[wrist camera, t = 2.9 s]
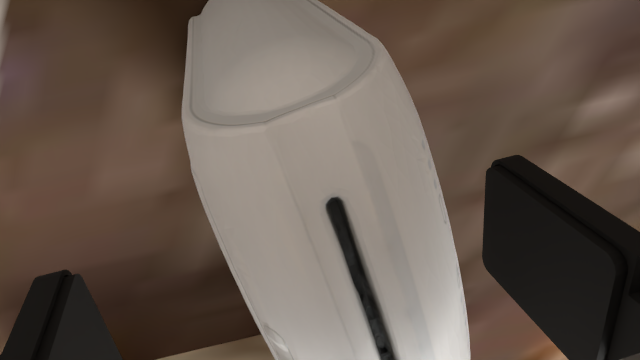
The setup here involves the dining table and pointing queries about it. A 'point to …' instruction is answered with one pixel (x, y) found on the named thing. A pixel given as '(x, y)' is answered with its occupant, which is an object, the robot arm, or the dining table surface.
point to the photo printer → (320, 185)
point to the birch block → (230, 351)
